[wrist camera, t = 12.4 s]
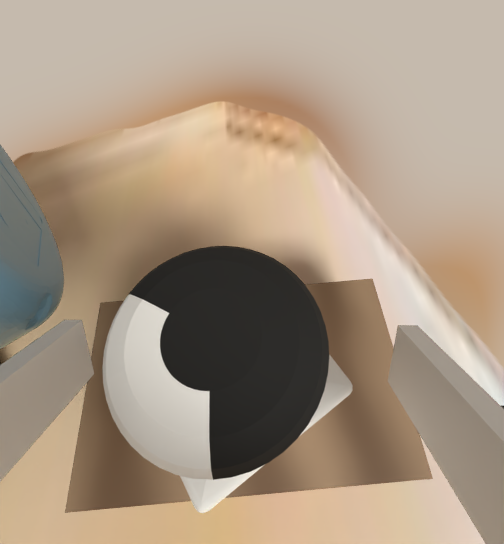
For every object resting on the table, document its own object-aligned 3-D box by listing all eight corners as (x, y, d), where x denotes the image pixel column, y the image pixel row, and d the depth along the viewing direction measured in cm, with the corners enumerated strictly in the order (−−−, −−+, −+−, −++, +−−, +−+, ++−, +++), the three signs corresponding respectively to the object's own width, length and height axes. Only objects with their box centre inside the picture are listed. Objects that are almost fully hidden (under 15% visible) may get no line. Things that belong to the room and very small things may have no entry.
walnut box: (123, 480, 21) (65, 512, 15) (139, 327, 26) (100, 302, 20) (382, 457, 21) (432, 478, 15) (346, 308, 27) (372, 278, 20)
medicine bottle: (256, 304, 20) (250, 181, 9) (322, 395, 17) (428, 375, 6) (167, 363, 18) (27, 301, 7) (224, 473, 15) (134, 634, 5)
